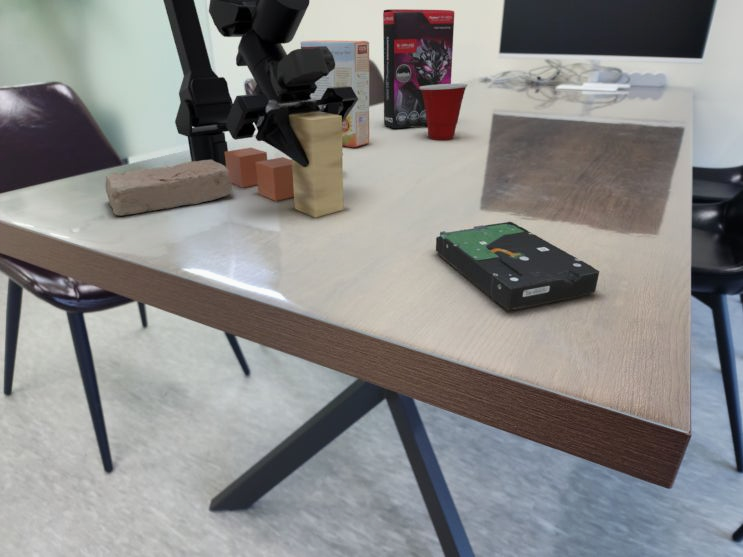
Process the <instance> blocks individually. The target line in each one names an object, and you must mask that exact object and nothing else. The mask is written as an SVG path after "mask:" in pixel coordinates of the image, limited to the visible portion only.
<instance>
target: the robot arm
mask: <svg viewBox="0 0 743 557" xmlns="http://www.w3.org/2000/svg"><path fill="white" fill-rule="evenodd" d="M310 2H311V1H310V0H209V6H208V13H209V15H210V17H211V19H212V22H213V24H214V26H215V28H216V29H217V31H218V32H219V34H220V35H221V36H222V37H224V38H240V40H239V43H238V46H237V54H236V57H235V64H236V66H237V67H247V69H248V70H249V72H250V74H251V76H252V78H253V80H254V82H255V84H256V85H255V87H254V89H253V91H254V93H252V94H242V95H241V94H240V95H236V96H235V98H234V100H233V99H232V97H231V94H230V90H229V86H228V81H227V80H226V78H225V77H224V76H220V77H219V76H218V75H217V74H216V73H215V72H214V70H213V67H212V65H211V61H210V57H209V53H208V48H207V45H206V40H205V37H204V34H203V30H202V26H201V22H200V17H199V14H198V10H197V7H196V3H195V0H163V4H164V8H165V11H166V12H165V13H166V16H167V19H168V22H169V27H170V31H171V33H172V37H173V41H174V45H175V49H176V52H177V56H178V59H179V63H180V67H181V70H182V75H183V77H182V81H181V84H180V87H179V91H178V97H179V101H180V103H179V105H178V106H179V107H178V110H177V113H176V117H175V120H174V124H175V128H176V130H177V133H178V134H179V135H181V136H184V137H187V142H188V148H189V155H190V162H194V161H202V160H213V161H215V162H217V163H220V164H222V165H224V166H225V167H226V160H225V152H226V151H229V146H228V141H226V132H229V134H230V136H231V137H232V139H233V140H235V141H236V140H243V139H249V138H253V136H254V134H255V132H256V129H257V133H256V134H255V140H256V141H257V142H264V143H266V144H267V145H269V146H271V147H273V148H274V149H276V150H278V151H279V152H281V153H282V154H284V155H286V156H287V158H289V159H290V160H292V159H293V160H294V161H296V162H297V163H298V164H300V165H301V166H303V167H307V166H308V164H309V161H308V158H307V156H306V153H305V151H304V149H303V147H302V146H301V144H300V142H299V140H298V138H297V136H296V135H295V133H294V131H293V129H292V127H291V125H290V119H289V115H293V114H301V113H309V112H317V111H320V112H325V113H330V114H335V115H340V116H342V122H343V121H344V120H345V119H346V117H347V116H348V114H349V113H350V111H351V110H352V108H353V107H354V105H355V104H356V102H357V101H358V98H357V96H356V94H355V92H354V91H353V89H352V87H349V86H341V87H329V88H327V89H326V91H325V93H324V94H323V96H322V98H321V99H320V100H316V99H311V97H310V95H311V94H312V93H314V92H315V91H316V89H317V86H316V84H315V82H316V81H318V80H319V79H321V78H322V77H323V76H327V75H328V74H329V72H331V71H332V70H333V69H334V68H335V61H334V57H333V55H332V53H331V52H330V50H329V49H328V48H327V46H317V47H316V48H311V49H301V48H295V49H293V50H291V51H289V53H287V52H286V49H285V48H284V46H283V44H289V43H291V42H292V41H293V39H294V38H295V36H296V34H297V31H298V29H299V27H300V25H301V23H302V20H303V19H304V16H305V14H306V12H307V10H308V8H309V5H310Z"/></svg>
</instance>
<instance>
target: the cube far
mask: <svg viewBox="0 0 743 557" xmlns="http://www.w3.org/2000/svg"><path fill="white" fill-rule="evenodd" d="M225 160H226V168H227V169H228V170H229V176H230V177H231V183H232V184H233V185H236V186H238V187H239V188H240V187H241V188H243V189H244V188H248V187H249V188H250V187H252V186H258V184H257V174H256V164H255V162H259V161H264V160H268V152H267V151H264V150H260V149H257V148H254V147H246V148H245V147H244V148H240V149H233V150H228V151H226V152H225Z"/></svg>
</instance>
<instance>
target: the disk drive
mask: <svg viewBox="0 0 743 557" xmlns="http://www.w3.org/2000/svg"><path fill="white" fill-rule="evenodd" d="M435 252H437V253H438V255H439V256H440V257H442V259H444V260H445V261H446V262H447V263H449V265H451V266H452V267H453V268H455V269H456V270H457V271H458V272H459V273H460V274H462V275H463V276H465V277H466V278H467V279H468V280H469V281H471V282H472V283H473V284H474V285H476V286H477V287H478V288H479V289H480V290H481V291H482V292H484V293H485V294H486V295H488V296H489V297H490V299H492V300H494V301H495V302H497V303H498V305H501V306H502V307H504V308H505V309H506V310H508V311H509V310H517V309H524V308H529V307H535V306H539V305H544V304H549V303H554V302H558V301H563V300H569V299H573V298H578V297H582V296H585V295H589V294H593V293H596V291H597V290H596V289H597V285H598V281H599V276H600V270H598V269H597V268H595V267H594V266H592V265H591V264H589V263H586V262H585V261H584V260H582V259H581V260H580V259H579V258H577V257H576V256H574V255H573V254H570V253H568V252H567V251H565V250H563V249H561V248H559V247H557V246H555V245H554V244H552V243H550V242H549V241H547V240H546V239H544V238H542V237H540V236H538V235H537V234H534V233H532V232H531V231H529V230H528V229H526V228H524V227H523V226H519V225H518V224H517V223H514V222H513V221H506V222H500V223H499V222H498V223H492V224H485V225H477V226H476V225H475V226H473V228H467V229H460V230H455V231H448V232H447V231H444V230H443V231H440V232H439V236H436V238H435Z"/></svg>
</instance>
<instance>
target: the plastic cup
mask: <svg viewBox="0 0 743 557" xmlns="http://www.w3.org/2000/svg"><path fill="white" fill-rule="evenodd" d="M467 87H468V83H451V84H438V85H427V86H421V87H420V89H421V91H422V94H423V98H424V103H425V112H426V120H427V125H426V126H427V134H428V138H429V139H431V140H438V141H448V140H452V139H454V136H455V133H456V128H457V124H458V121H459V117H460V112H461V108H462V104H463V99H464V95H465V91H466V89H467Z"/></svg>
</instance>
